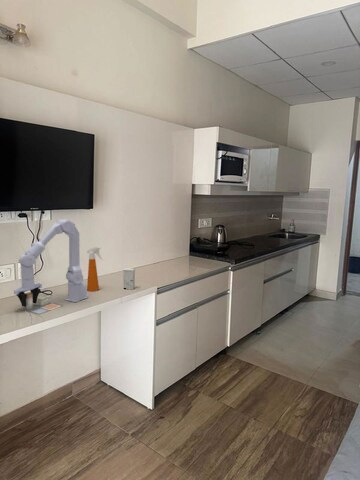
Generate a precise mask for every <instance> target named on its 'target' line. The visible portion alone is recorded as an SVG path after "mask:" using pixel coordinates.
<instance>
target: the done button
mask: <svg viewBox="0 0 360 480" xmlns="http://www.w3.org/2000/svg"><path fill="white" fill-rule="evenodd" d="M46 299H47V297H44V296H41V297H38V298H37V300H38V301H41V302H42V301H45V300H46Z"/></svg>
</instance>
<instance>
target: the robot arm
mask: <svg viewBox="0 0 360 480" xmlns="http://www.w3.org/2000/svg"><path fill="white" fill-rule="evenodd" d="M63 233H64V234H65V235H67V236H68V256H69V257H68V259H69V260H68V261H69V262H68V268H67V271H66V273H65V279H66V280H67V281H68V282H67V293H68V294H67V295H68V296H67V297H66V298H65V299H64V300H65V301H69V302H72V303H77V302H80V301H82V300H85V299H87V298H88V297H89V296H87V294H88V293H87V291H88V290H87V284H86V282H84V275H83V270H82V268H81V264H80V232H79V230H78V228H77V226H76V224H75V223H74V222H73V221H71V220H69V219H64V218H59V219H57V220H56V222H54V223H53V224H52V226H51V227H50V228H49V230H48V231H47V232H46V233H45V234H44V235H43V236H42V237H41V239H40V240H38V241H35V242H32V243H31V246H30V247H29V248H28V249H27V250H25V251H24V253H23V254H22V255H20V257H19V259H18V262H19V264H20V276H21V277H20V279H21V287H19V288H16V289H14V290H13V294H14V295H16V296H17V298H18V299H19V302H20V304H21V307H22V308H24V307H26V297H27V294H26V293H27V292H29V291H30V293H32V294H33V297H32V298H33V304H35V303H36V302H37V300H38V298H39V294H40V293H41V288H43V284H42V283H35V273H34V265H35V262H36V259H38V257H39V256H41V254H42V253H43V252H44V251H45V249H46V248H45V247H46V245H47V244H48V243H49V242H50V241H51V240H52V239H53V238H54V237H55V236H56V235H60V234H63Z"/></svg>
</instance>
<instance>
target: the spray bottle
mask: <svg viewBox="0 0 360 480" xmlns="http://www.w3.org/2000/svg"><path fill="white" fill-rule="evenodd" d="M100 250H101V246H95V247H92V248H90V249H88V250H87V251H86V253H87V254H89V255H88V268H87V269H88V270H87V271H88V272H87V282H86V283H87V284H86V290H87V291H88V292H96V290H97V291H99V290H100V286H99V279H98V278H99V276H98V270H97V261H96V256H98V258H99V259H100V260H101V261H103V260H104V258H103V257H102V255H101V254H100ZM95 254H96V255H95Z"/></svg>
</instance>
